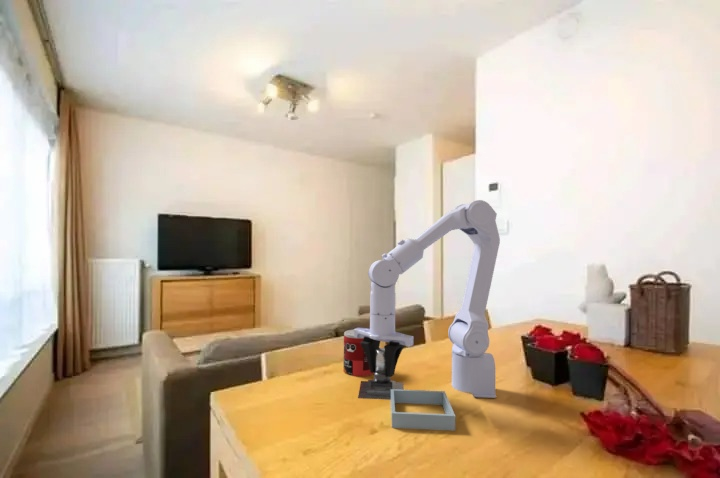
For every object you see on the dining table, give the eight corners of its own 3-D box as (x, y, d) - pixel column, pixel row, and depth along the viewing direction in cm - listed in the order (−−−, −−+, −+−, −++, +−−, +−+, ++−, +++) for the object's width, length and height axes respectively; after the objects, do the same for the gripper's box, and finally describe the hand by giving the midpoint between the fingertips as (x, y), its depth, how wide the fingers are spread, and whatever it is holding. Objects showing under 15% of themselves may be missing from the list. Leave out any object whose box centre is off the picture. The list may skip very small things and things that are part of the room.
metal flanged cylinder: (379, 376, 85) (379, 346, 85) (393, 380, 83) (393, 349, 83) (370, 381, 82) (370, 350, 82) (385, 385, 80) (385, 353, 80)
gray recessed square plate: (402, 386, 87) (402, 378, 87) (405, 404, 77) (405, 395, 77) (360, 385, 88) (360, 376, 88) (357, 402, 78) (358, 393, 78)
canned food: (342, 370, 98) (343, 329, 98) (372, 369, 99) (372, 329, 99) (343, 380, 91) (344, 336, 91) (375, 380, 91) (376, 335, 92)
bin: (444, 408, 76) (444, 391, 76) (455, 436, 64) (455, 416, 65) (390, 406, 76) (390, 389, 76) (391, 433, 65) (391, 413, 65)
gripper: (346, 312, 84) (345, 371, 83) (403, 319, 75) (402, 385, 75) (363, 308, 89) (362, 363, 89) (417, 314, 81) (417, 375, 81)
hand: (382, 373), depth 83 cm, fingers closed on metal flanged cylinder, 4 cm apart
